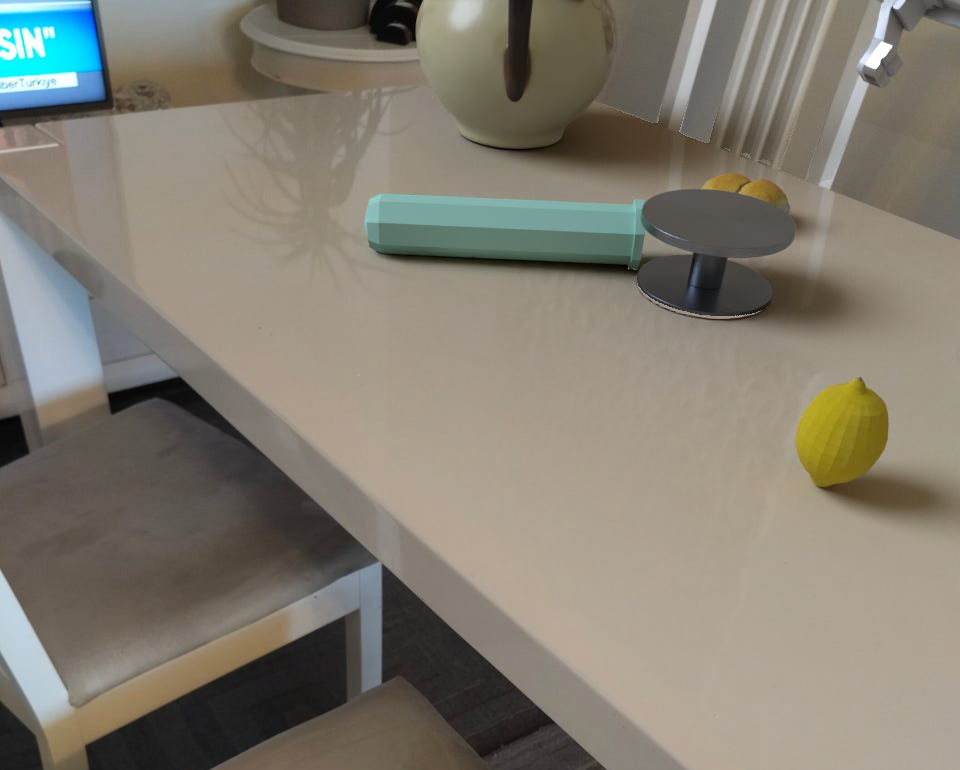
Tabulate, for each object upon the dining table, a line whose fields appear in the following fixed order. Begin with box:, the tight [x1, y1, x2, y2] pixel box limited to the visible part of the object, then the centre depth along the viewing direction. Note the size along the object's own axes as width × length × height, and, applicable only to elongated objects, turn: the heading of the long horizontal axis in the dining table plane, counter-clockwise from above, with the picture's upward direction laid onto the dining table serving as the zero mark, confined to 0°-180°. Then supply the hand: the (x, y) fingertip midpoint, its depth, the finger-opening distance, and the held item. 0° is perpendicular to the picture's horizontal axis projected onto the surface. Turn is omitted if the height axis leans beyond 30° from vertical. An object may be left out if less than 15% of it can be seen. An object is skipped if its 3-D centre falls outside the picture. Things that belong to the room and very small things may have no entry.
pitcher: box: [415, 0, 618, 150], centre depth 106 cm, size 22×24×25 cm
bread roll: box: [700, 172, 791, 215], centre depth 98 cm, size 8×9×4 cm
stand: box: [636, 188, 797, 316], centre depth 85 cm, size 13×13×6 cm
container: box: [363, 192, 646, 270], centre depth 88 cm, size 6×6×25 cm
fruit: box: [795, 376, 890, 488], centre depth 63 cm, size 6×6×8 cm
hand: (928, 103), depth 56 cm, fingers open, 8 cm apart
